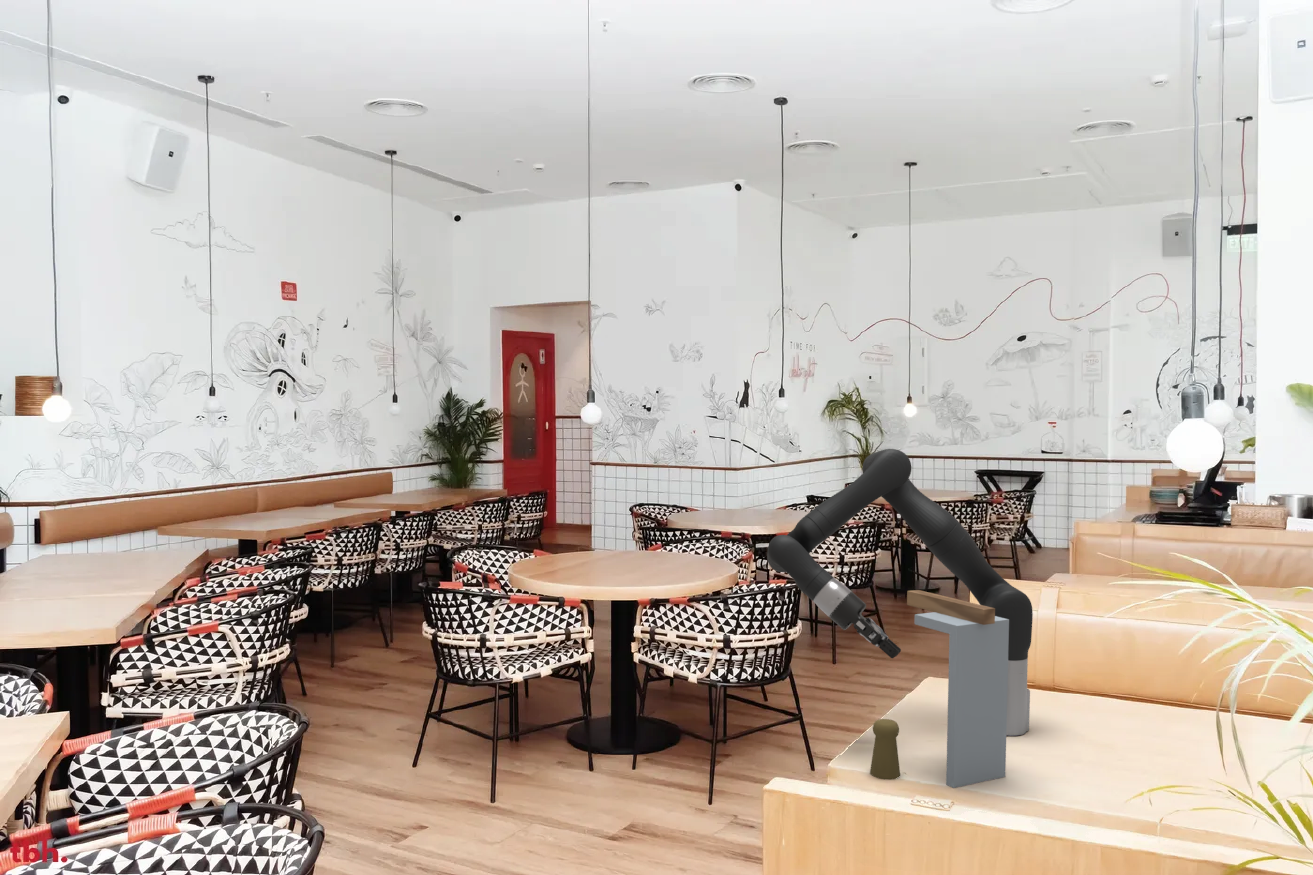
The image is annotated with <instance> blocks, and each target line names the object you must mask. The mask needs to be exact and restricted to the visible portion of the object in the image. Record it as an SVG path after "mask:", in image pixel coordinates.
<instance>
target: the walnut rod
mask: <svg viewBox="0 0 1313 875" xmlns="http://www.w3.org/2000/svg"><path fill="white" fill-rule="evenodd" d="M906 594H907V595H906V596H907V597H906V605H907V606H910V607H914V608H918V609H922V610H925V611H929V612H936V613H940V614H944V615H948V616H952V617H955V618H959V619H963V620H967V621H971V622H975V623H978V624H982V625H987V624H995V608H991V607H987V606H983V605H980V604H978V603H974V602H971V601H966V600H961V599H957V598H953V597H950V596H946V595H945V596H944V595H941V594H937V593H933V592H927V591H924V590H920V589H915V590H914V589H913V590H907V593H906Z"/></svg>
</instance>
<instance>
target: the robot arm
mask: <svg viewBox="0 0 1313 875" xmlns="http://www.w3.org/2000/svg"><path fill="white" fill-rule="evenodd" d="M861 470H862V474H860V476H858V478H856V479H855V480H853V482H851V483H850V484H849V485H847V486H846V487H844V488H842V489H841V490H840V491H838V492H837V493H835V494H833V495H832V496H830V497H828V498H827V499H825V500H824V501H823V502H821V503H820V504H818V505H817V506H816V507H814V508H813V509H812V510H811V511H809V512H808V513H807V514H805V515H804V516H803V517H802V518H801V519H800V520H799V521H798V522H797V524H796V525H795V526H794V528H793V529H791V531H790V532H789V533H787V534H778V535H776V536H774V537H773V538H772V539H771V540H770V541H769V543H768V546H767V556H766V559H767V560H766V561H767V563H768V565H769V566H770V568H771V569H772V570H773V571H776V572H777V573H786V574H787V575H789V577H790V578H792V580H794V582H795V584H796V586H797V588H799V590H800V591H801V592H802V593H803V594H804V595H805V596H807V597H808V598H809V599H810V600H811V601H812V602H813V603H814V604H816V606H817V607H818V608H819V610H821V611H822V612H823V613H824V614H825V615H826V616H827V617H828V618H830V620H832V621H833V622H834V623H835V624H836V625H838V627H839V628H840V629H842V630H843V631H845V630H847V629H849V628H850V627H851V626H852V625H853V627H854V629H855V630H856V632H857V633H858V634H859V635H860V636H862V637H863V638H864V639H865V640H866V641H868V642H869V643H870V644H871V645H873V646H874V647H876V648H879V649H880V650H882V652H883V653H885V654H886V655H887V656H888V657H889V658H890V659H894V658H895V657H897V656H898V655H899V654H900V653H901V651H902V649H901V648H900V646H898V645H897V644H896V643H895V642H894V641H893V640H891V639H890V638H889V636H888V635H887V633H886V631H885V632H884V630H883V629H882V627H880V626H879V625H878V624H876V622H875V621H874V620H873V619H872V618H871V617H867V616H866V617H864V616H863V615H862V613H863V612H864V610H866V608H867V603H866V602H864V601H863V600H862V599H861V598H860V597H859V596H857V594H855V593H854V592H853V591H852V590H850V588H848V587H847V586H846V585H845V584H843V583H842V582H841V581H839V580H838V579H836V578H835V577H834V576H833V575H832V574H830V572H829V571H827V570H826V569H825V568H824V567H822V566H821V565H820V564H819V563H818V562H817V561H816V560H815V559H814V558H813V556H812V555H811V553H812V552H813V551H814V549H816V547H819V545H820V544H822V543H823V542H825V541H826V540H827V539H828V538H830V537H831V536H832V535H833V534H835V532H837V531H838V530H839V529H840V528H842V527H843V526H844V525H845V524H846V523H848V522H849V521H850V520H851V519H852V518H854V517H855V516H856V515H857V514H858V513H860V511H862V510H863V509H865V508H867V506H869V505H871V504H872V503H873V502H875V501H877V500H878V499H880V498H882V499H884V501H885V502H887V503H888V504H889V505H890V506H891V507H892V508H893V509H894V510H895V511H896V512H897V514H899V516H901V517H902V519H903V521H904V522H905V523H906V524H907V526H908V527H909V528H910V529H911V530H912V531H913V532H914V533H915V535H917V537H918V538H919V539H920V540H921V541H922V543H923V544H924V545H925V547H927V549H928V550H929V551H930V552H931V553H932V555H934V556H935V558H936V559H937V560H938V561H940V563H941V564H942V565H943V566H944V567H945V568H947V570H949V571H950V572H951V573H952V574H953V575H954V576H955V577H957V578H958V579H959V580H960V581H961V582H962V583H963V585H965V586H966V588H967V589H968V590H969V591H970V594H971V595H973V597H974V598H975V600H976V601H977V603H979V605H983V606H987V607H991V608H995V616H997V617H1001V618H1005V619H1009V644H1008V686H1007V728H1006V736H1009V737H1010V736H1011V737H1012V736H1022V735H1024V734H1026V733H1027V732H1028V731H1030V715H1031V714H1030V708H1031V706H1030V704H1031V703H1030V702H1031V690H1030V689H1029V688H1028V665H1029V664H1028V661H1029V660H1028V658H1029V650H1030V647H1031V644H1032V634H1033V633H1032V632H1033V618H1034V617H1033V615H1034V613H1033V604H1032V602H1031V599H1030V598H1029V596H1027V595H1026V593H1024V592H1023V591H1022V590H1020V589H1018V588H1016V587H1015V586H1014V585H1013V586H1012V584H1010V583H1009V582H1008V581H1007V580H1006V579H1004V578H1003V576H1001V574H999V573H998V572H997V570H995V569H994V567H992V566H991V565H990V564H989V562H988V561H987V559H986V558H985V557H984V555H983V553H982V552H981V550H980V548H979V546H978V545H977V544H976V542H975V540H974V538H973V537H972V536H971V534H970V533H969V532H968V531H967V530H966V529H965V528H964V526H963V525H962V524H961V523H960V522H959V521H958V520H957V518H956V517H954V516H953V515H952V514H951V513H950V512H949V511H948V510H947V509H945V508H944V507H943V506H941V505H940V504H938V503H937V502H935V501H933V499H931V498H929V497H928V496H926V495H925V494H924V493H923V492H921V490H919V489H918V488H917V486H916V485H915V484H914V483H913V482H912V481H911V480H910V477H911V473H912V462H911V460H910V458H909V455H907V454H906V453H905V452H903V451H901V450H899V449H895V448H887V449H886V448H885V449H882V450H879V451H875V452H873V453H871V454H869V455H867V456H866V458H865V459H864V461H863V462H862V469H861Z"/></svg>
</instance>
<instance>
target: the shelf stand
mask: <svg viewBox="0 0 1313 875" xmlns="http://www.w3.org/2000/svg"><path fill="white" fill-rule="evenodd" d="M914 625H917V626H920V627H923V628H926V629H930V630H934V631H938V632H941V633H945V634H949V636H948V637H949V643H948V644H949V645H948V681H947V682H948V683H947V684H948V686H947V689H948V690H947V728H946V729H947V730H946V731H947V733H946V736H947V737H946V778H945V781H946V782H945V784H946V785H945V786H949V787H950V788H953V789H957V788H959V787H960V788H961V787H965V786H969V785H974V784H978V783H984V782H986V781H992V780H996V779H1000V778H1006V769H1007V767H1006V763H1007V760H1006V758H1007V735H1006V728H1007V686H1008V644H1009V619H1005V618H1001V617H997V616H995V624H987V625H982V624H978V623H975V622H971V621H967V620H963V619H959V618H955V617H952V616H948V615H944V614H940V613H936V612H933V611H931V612H926V613H925V612H924V613H917V614H914Z"/></svg>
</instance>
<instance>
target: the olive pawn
mask: <svg viewBox="0 0 1313 875" xmlns="http://www.w3.org/2000/svg"><path fill="white" fill-rule="evenodd" d="M872 731H873V735H874V736H875V738H874V744H873V745H874V746H873V750H872V757H871V763H870V768H869V774H870V775H871V776H872V777H873V778H876V779H880V780H897V779H898V778H897V777H899V776H900V777H901V769H900V762H899V761H900V760H899V752H898V744H897V737H898V735H899V733H900V726H899V724H898V723H897V721H895V720H892V719H889V718H888V719H887V718H880V719H876V720H875V721H874V723H873V725H872ZM900 777H899V778H900ZM896 778H897V779H896Z"/></svg>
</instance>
